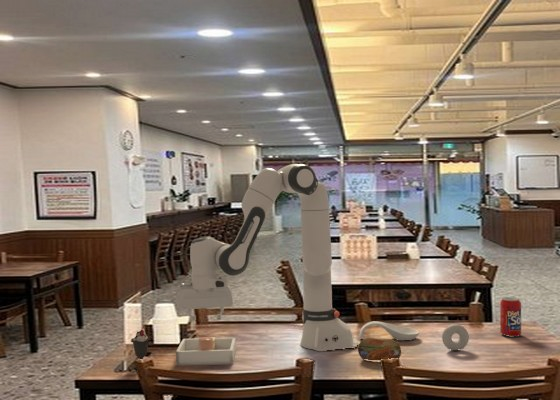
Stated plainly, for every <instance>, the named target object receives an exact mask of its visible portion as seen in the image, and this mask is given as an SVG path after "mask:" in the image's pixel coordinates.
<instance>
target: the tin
mask: <svg viewBox="0 0 560 400" xmlns="http://www.w3.org/2000/svg"><path fill="white" fill-rule="evenodd" d="M357 352H358V355H359V357H360V358H361V359H362V360H363V361H365V360H364V359H368V360H381V359H388V358H389V359H391V358H398V360H400V357H401V355H402V348H401V346H400V343H399V342H398V341H397V340H394V339H392V338H382V337H381V338H379V337H367V338H363V340H360V342H359V343H358V347H357Z"/></svg>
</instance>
